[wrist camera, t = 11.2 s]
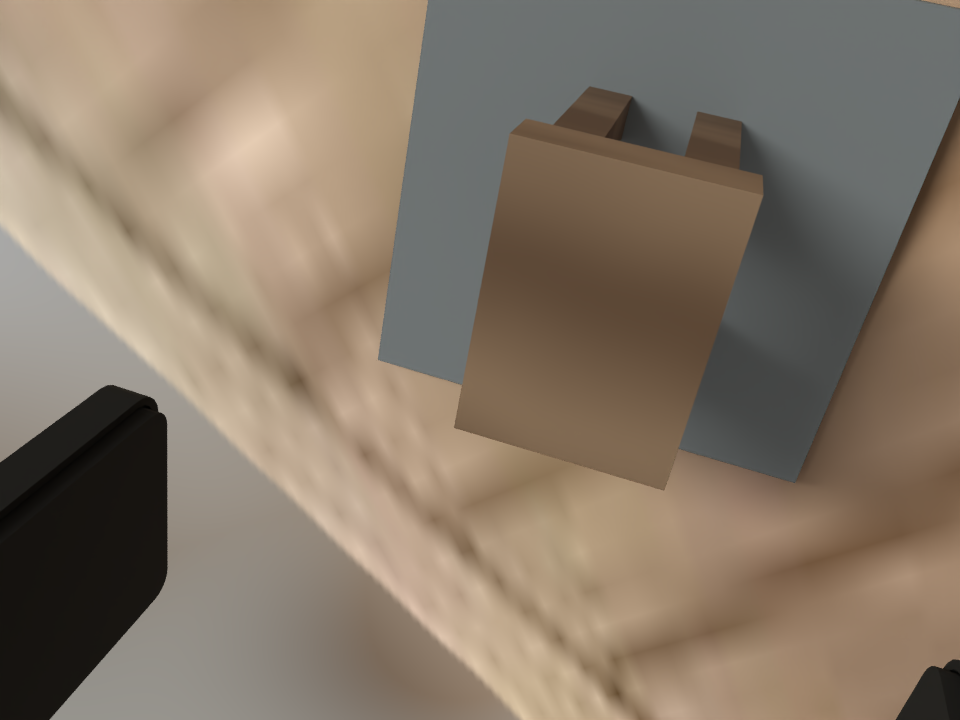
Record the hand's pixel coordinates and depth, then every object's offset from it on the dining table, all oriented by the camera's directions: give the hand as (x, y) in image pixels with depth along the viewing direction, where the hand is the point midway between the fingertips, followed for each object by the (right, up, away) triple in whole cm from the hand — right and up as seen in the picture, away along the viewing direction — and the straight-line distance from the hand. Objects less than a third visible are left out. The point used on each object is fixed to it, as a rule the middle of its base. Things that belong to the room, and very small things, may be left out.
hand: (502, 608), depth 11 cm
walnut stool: (+4, +7, +15) cm, 17 cm away
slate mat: (+4, +7, +16) cm, 18 cm away
